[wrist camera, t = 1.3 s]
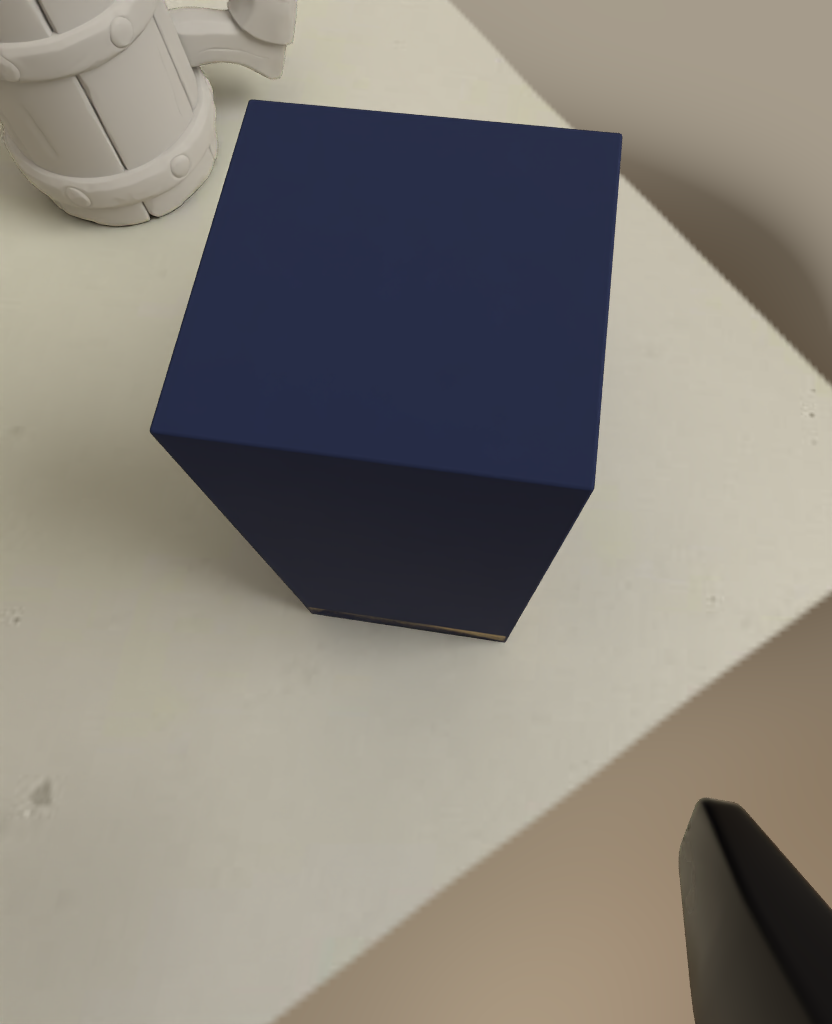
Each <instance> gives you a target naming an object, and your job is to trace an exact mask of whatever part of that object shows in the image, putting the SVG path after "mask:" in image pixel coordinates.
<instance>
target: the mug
mask: <svg viewBox="0 0 832 1024" xmlns="http://www.w3.org/2000/svg"><path fill="white" fill-rule="evenodd" d="M227 7H228V10H217V9H210V8H201V7H181V8H174V9H168V8H167V5H166V3H165V0H0V121H1V122H2V124H3V126H4V135H3V141H4V143H5V146H6V148H7V150H8V151H9V153H10V154H11V156H12V158H13V160H14V161H15V163H16V164H17V166H18V167H19V169H20V171H21V172H22V173H23V174H24V176H25V177H26V178H27V179H28V180H29V181H30V182H31V183H32V184H33V185H34V186H35V187H36V188H38V189H39V190H40V191H41V192H43V193H44V194H46V195H48V196H49V197H50V198H51V199H52V201H53V202H54V203H55V204H56V205H57V206H58V207H59V208H61V209H63V210H64V211H65V212H66V213H68V214H70V215H72V216H76V217H79V218H82V219H85V220H90V221H94V222H96V223H98V224H104V225H111V226H125V225H133V224H139V223H143V222H146V221H149V220H150V217H149V213H150V214H151V215H154V216H158V217H160V216H163V215H165V214H167V213H169V212H171V211H173V210H174V209H176V208H178V207H179V206H181V205H182V204H183V203H184V201H185V200H186V199H188V198H189V197H190V196H191V195H192V194H193V193H194V192H195V191H196V190H197V189H198V188H199V187H200V186H201V185H202V184H203V183H204V181H205V180H206V179H207V178H208V176H209V175H210V173H211V170H212V168H213V166H214V160H216V157H217V151H218V140H217V133H216V129H215V120H216V108H215V103H214V100H213V99H214V93H213V89H212V86H211V84H210V82H209V80H208V78H206V77H205V75H204V73H203V72H202V70H201V68H200V67H199V66H201V65H205V64H210V63H217V62H225V63H234V64H239V65H243V66H246V67H248V68H250V69H252V70H254V71H256V72H257V73H259V74H261V75H263V76H265V77H267V78H269V79H272V80H273V79H278V78H280V77H281V76H282V73H283V67H284V61H285V50H286V45H288V44H291V43H292V42H293V38H294V30H295V23H296V16H297V0H229V1H228V2H227Z"/></svg>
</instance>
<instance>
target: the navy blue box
mask: <svg viewBox="0 0 832 1024" xmlns="http://www.w3.org/2000/svg"><path fill="white" fill-rule="evenodd" d="M621 149H622V134H620V133H610V132H599V131H588V130H577V129H567V128H556V127H545V126H534V125H523V124H512V123H501V122H490V121H480V120H469V119H458V118H447V117H436V116H425V115H414V114H404V113H393V112H382V111H371V110H360V109H349V108H338V107H327V106H317V105H306V104H295V103H284V102H273V101H262V100H249V102H248V106H247V109H246V112H245V115H244V119H243V122H242V125H241V129H240V132H239V135H238V139H237V142H236V145H235V149H234V152H233V155H232V159H231V162H230V165H229V169H228V172H227V175H226V178H225V182H224V185H223V188H222V192H221V195H220V198H219V202H218V205H217V208H216V212H215V215H214V218H213V222H212V225H211V228H210V232H209V235H208V238H207V241H206V245H205V248H204V251H203V255H202V258H201V261H200V265H199V268H198V271H197V275H196V278H195V281H194V285H193V288H192V291H191V295H190V298H189V301H188V304H187V308H186V311H185V314H184V318H183V321H182V324H181V328H180V331H179V334H178V338H177V341H176V344H175V348H174V351H173V354H172V358H171V361H170V364H169V367H168V371H167V374H166V377H165V381H164V384H163V387H162V391H161V394H160V397H159V401H158V404H157V407H156V411H155V414H154V417H153V421H152V424H151V427H150V433H151V434H152V435H153V436H154V437H155V439H156V440H157V441H158V442H159V443H160V444H161V445H162V446H163V447H164V449H165V450H166V451H167V452H168V453H169V454H170V455H171V456H172V458H173V459H174V460H175V461H176V462H177V463H178V464H179V465H180V466H181V468H182V469H183V470H184V471H185V472H186V473H187V474H188V475H189V477H190V478H191V479H192V480H193V481H194V482H195V483H196V484H197V485H198V487H199V488H200V489H201V490H202V491H203V492H204V493H205V494H206V496H207V497H208V498H209V499H210V500H211V501H212V502H213V503H214V504H215V506H216V507H217V508H218V509H219V510H220V511H221V512H222V513H223V514H224V516H225V517H226V518H227V519H228V520H229V521H230V522H231V523H232V525H233V526H234V527H235V528H236V529H237V530H238V531H239V532H240V533H241V535H242V536H243V537H244V538H245V539H246V540H247V541H248V542H249V544H250V545H251V546H252V547H253V548H254V549H255V550H256V551H257V552H258V554H259V555H260V556H261V557H262V558H263V559H264V560H265V561H266V563H267V564H268V565H269V566H270V567H271V568H272V569H273V570H274V571H275V573H276V574H277V575H278V576H279V577H280V578H281V579H282V580H283V582H284V583H285V584H286V585H287V586H288V587H289V588H290V589H291V590H292V592H293V593H294V594H295V595H296V596H297V597H298V598H299V599H300V601H301V602H302V603H303V604H304V605H305V606H306V607H307V608H308V609H309V611H310V612H311V613H313V614H319V615H325V616H332V617H339V618H345V619H352V620H359V621H365V622H372V623H379V624H385V625H392V626H399V627H405V628H412V629H419V630H425V631H432V632H439V633H445V634H452V635H459V636H465V637H472V638H479V639H485V640H492V641H499V642H506V640H507V638H508V637H509V635H510V633H511V632H512V630H513V628H514V626H515V625H516V623H517V621H518V619H519V618H520V616H521V614H522V613H523V611H524V609H525V607H526V606H527V604H528V602H529V600H530V599H531V597H532V595H533V594H534V592H535V590H536V588H537V587H538V585H539V583H540V581H541V580H542V578H543V576H544V575H545V573H546V571H547V569H548V568H549V566H550V564H551V562H552V561H553V559H554V557H555V556H556V554H557V552H558V550H559V549H560V547H561V545H562V543H563V542H564V540H565V538H566V537H567V535H568V533H569V531H570V530H571V528H572V526H573V524H574V523H575V521H576V519H577V518H578V516H579V514H580V512H581V511H582V509H583V507H584V505H585V504H586V502H587V500H588V499H589V497H590V495H591V493H592V492H593V490H594V486H595V474H596V461H597V449H598V436H599V424H600V411H601V399H602V386H603V374H604V361H605V349H606V336H607V324H608V311H609V299H610V286H611V274H612V261H613V249H614V236H615V224H616V211H617V199H618V186H619V174H620V161H621Z"/></svg>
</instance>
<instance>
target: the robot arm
mask: <svg viewBox="0 0 832 1024" xmlns="http://www.w3.org/2000/svg"><path fill="white" fill-rule="evenodd" d="M679 875H680V885H681V895H682V905H683V915H684V926H685V937H686V947H687V958H688V968H689V977H690V988H691V997H692V1005H693V1012H694V1018H695V1024H832V909H831V908H830V907H829V906H828V904H827V903H826V902H825V901H824V900H823V899H822V898H821V896H820V895H819V894H818V893H817V892H816V891H815V890H814V888H813V887H812V886H811V885H810V884H809V883H808V882H807V880H806V879H805V878H804V877H803V876H802V875H801V874H800V872H798V870H797V869H796V868H795V867H794V866H793V865H792V863H791V862H790V861H789V860H788V859H787V858H786V857H785V855H784V854H783V853H782V852H781V851H780V850H779V848H778V847H777V846H776V845H775V844H774V843H773V842H772V840H770V838H769V837H768V836H767V835H766V834H765V833H764V831H763V830H762V829H761V828H760V827H759V826H758V825H757V823H756V822H755V821H754V820H753V819H752V818H751V817H750V815H749V814H748V813H747V812H746V811H745V810H744V809H743V808H742V807H741V806H740V805H738V804H737V803H734V802H730V801H724V800H718V799H712V798H702V799H700V800H699V801H698V802H697V803H696V805H695V808H694V810H693V813H692V816H691V818H690V821H689V824H688V827H687V829H686V832H685V835H684V837H683V840H682V843H681V846H680V851H679Z"/></svg>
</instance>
